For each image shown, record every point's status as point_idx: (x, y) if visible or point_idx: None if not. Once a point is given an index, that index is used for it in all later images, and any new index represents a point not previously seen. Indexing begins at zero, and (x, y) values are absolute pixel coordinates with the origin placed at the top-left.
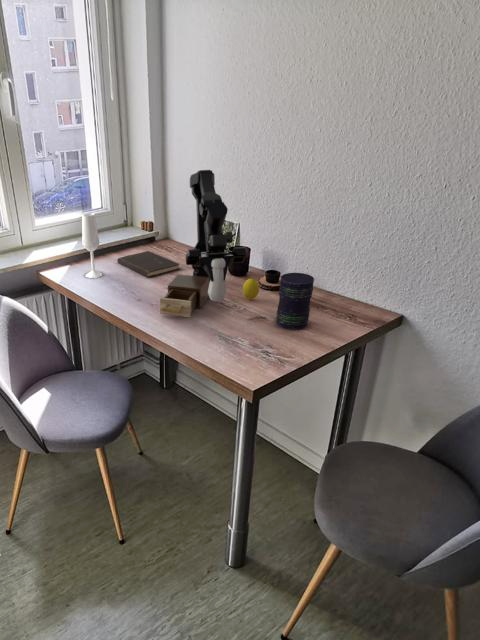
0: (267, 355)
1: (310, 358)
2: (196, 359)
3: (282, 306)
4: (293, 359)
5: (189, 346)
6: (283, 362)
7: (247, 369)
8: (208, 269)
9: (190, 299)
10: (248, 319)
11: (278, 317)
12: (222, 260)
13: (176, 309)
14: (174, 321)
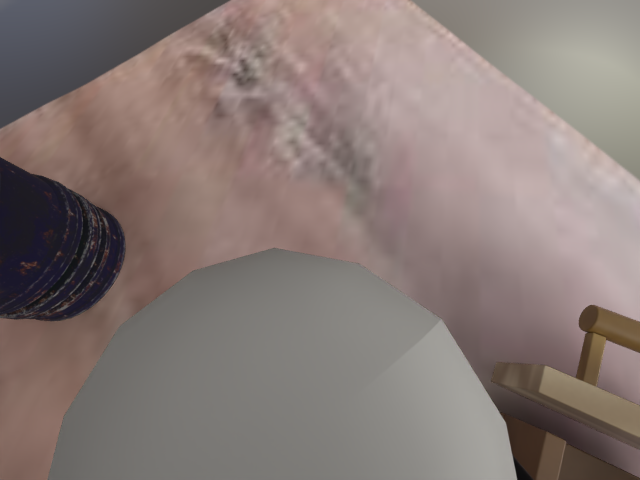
0: (246, 65)
1: (146, 52)
2: (463, 45)
3: (43, 201)
4: (189, 48)
5: (488, 117)
6: (220, 35)
7: (322, 6)
8: (514, 463)
9: (547, 434)
10: None
11: (99, 234)
12: (129, 380)
13: (627, 321)
14: None
